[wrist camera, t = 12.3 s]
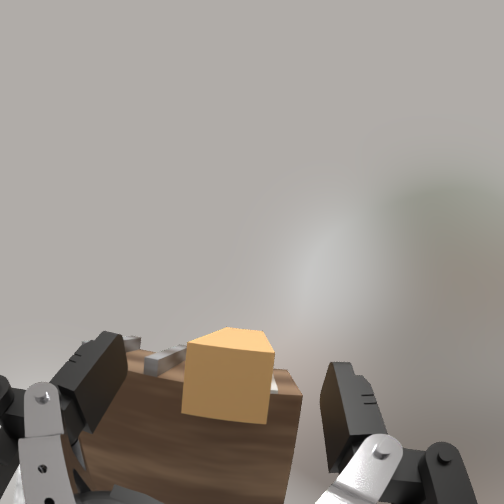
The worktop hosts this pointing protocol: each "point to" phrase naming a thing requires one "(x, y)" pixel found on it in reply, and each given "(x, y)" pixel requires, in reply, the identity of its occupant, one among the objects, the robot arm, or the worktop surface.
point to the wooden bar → (229, 376)
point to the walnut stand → (189, 439)
